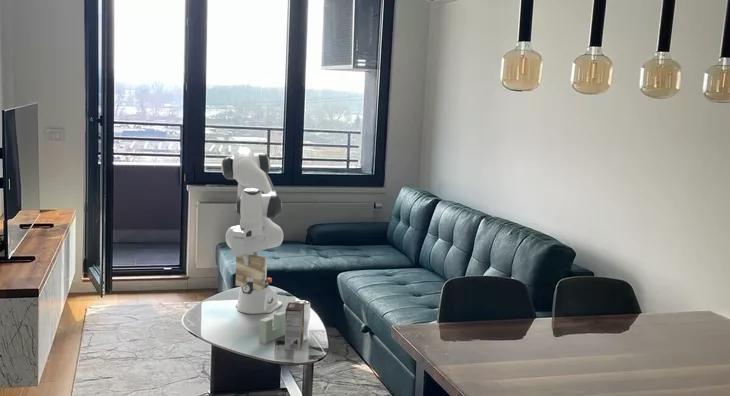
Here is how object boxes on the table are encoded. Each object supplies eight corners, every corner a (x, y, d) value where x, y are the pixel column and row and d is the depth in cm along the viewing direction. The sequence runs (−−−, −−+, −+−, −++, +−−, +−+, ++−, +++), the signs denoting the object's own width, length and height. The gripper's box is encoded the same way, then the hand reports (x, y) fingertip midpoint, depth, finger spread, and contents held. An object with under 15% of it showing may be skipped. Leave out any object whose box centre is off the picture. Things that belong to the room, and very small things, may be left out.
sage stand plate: (279, 332, 283) (279, 311, 281) (285, 334, 281) (286, 312, 280) (259, 342, 270) (259, 320, 269) (265, 343, 269) (266, 321, 268)
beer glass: (306, 343, 272) (307, 306, 270) (289, 341, 273) (290, 304, 271) (311, 337, 278) (312, 301, 276) (295, 335, 280) (295, 299, 278)
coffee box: (287, 341, 272) (288, 302, 270) (303, 342, 272) (304, 302, 270) (284, 349, 263) (285, 308, 261) (300, 350, 263) (302, 309, 261)
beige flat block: (240, 284, 280) (240, 252, 278) (264, 288, 275) (265, 256, 273) (235, 285, 277) (236, 254, 275) (260, 290, 272) (260, 258, 270)
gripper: (259, 224, 283) (259, 257, 285) (228, 232, 265) (228, 267, 267) (272, 226, 280) (271, 259, 282) (242, 234, 262) (241, 270, 264)
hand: (250, 263), depth 274 cm, fingers closed on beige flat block, 3 cm apart
